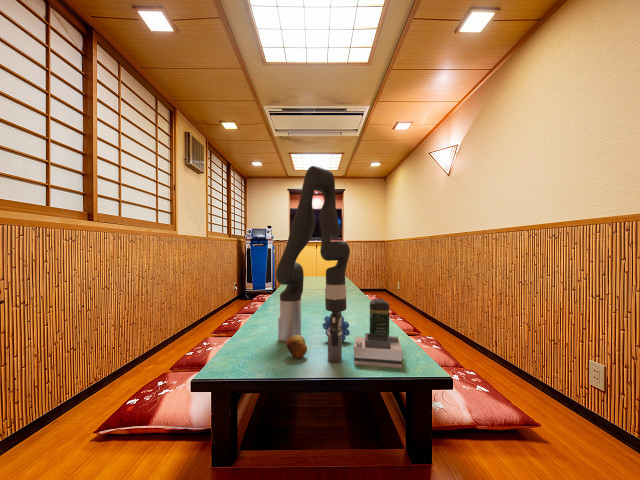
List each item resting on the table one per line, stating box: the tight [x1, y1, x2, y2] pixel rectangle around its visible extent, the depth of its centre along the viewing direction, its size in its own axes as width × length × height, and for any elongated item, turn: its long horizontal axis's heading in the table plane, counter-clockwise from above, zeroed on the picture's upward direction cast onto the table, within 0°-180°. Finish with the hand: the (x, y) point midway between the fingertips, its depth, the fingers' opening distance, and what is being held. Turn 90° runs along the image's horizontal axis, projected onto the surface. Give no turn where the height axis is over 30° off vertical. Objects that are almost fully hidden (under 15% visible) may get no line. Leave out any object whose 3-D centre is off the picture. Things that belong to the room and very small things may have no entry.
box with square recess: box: [353, 332, 403, 369], centre depth 104 cm, size 16×11×8 cm
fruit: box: [285, 335, 308, 360], centre depth 106 cm, size 8×8×8 cm
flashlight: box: [327, 328, 343, 364], centre depth 103 cm, size 5×5×11 cm
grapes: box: [322, 312, 351, 342], centre depth 122 cm, size 12×7×12 cm, turn 84°
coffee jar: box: [369, 298, 390, 336], centre depth 119 cm, size 10×8×19 cm
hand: (336, 342), depth 103 cm, fingers open, 8 cm apart
